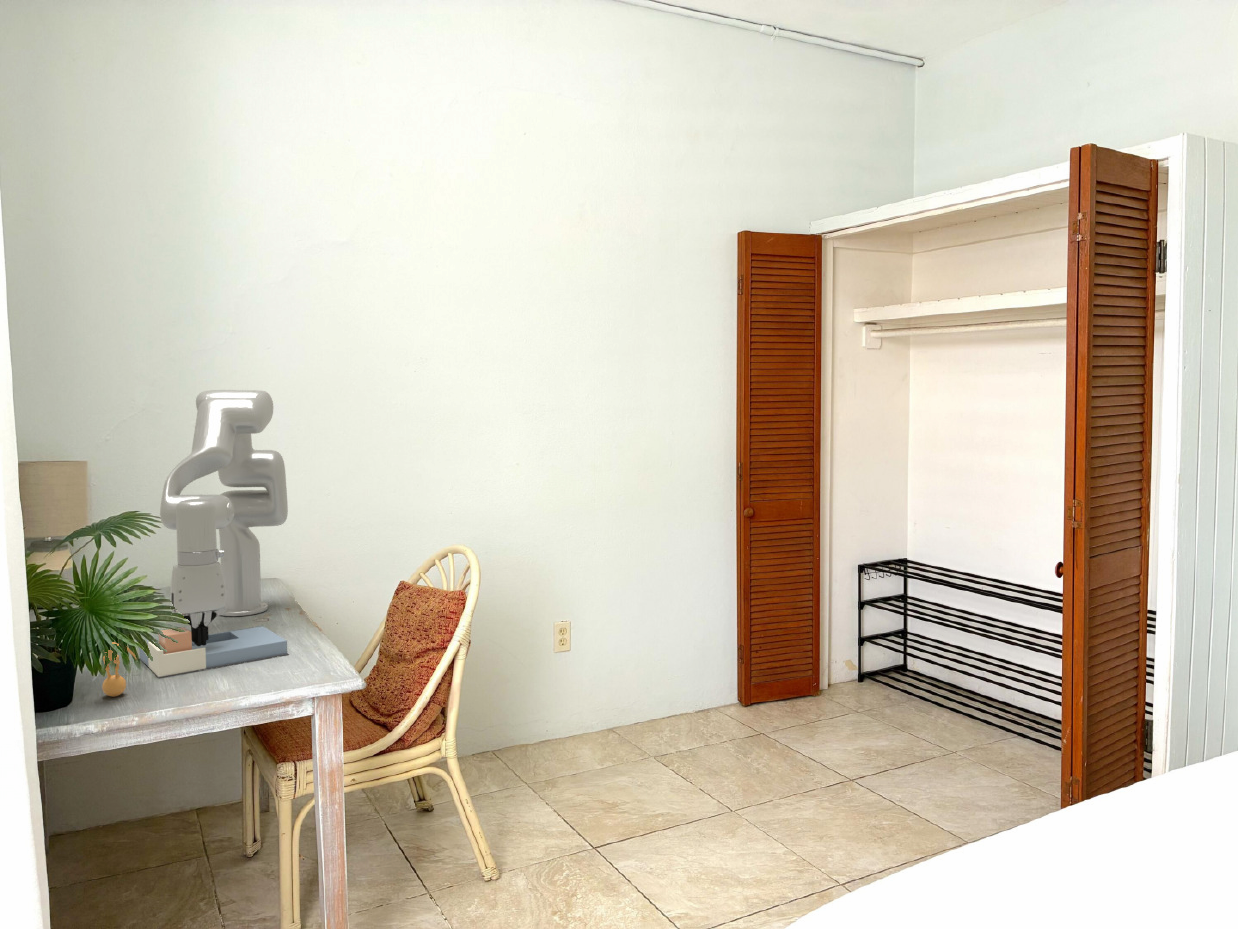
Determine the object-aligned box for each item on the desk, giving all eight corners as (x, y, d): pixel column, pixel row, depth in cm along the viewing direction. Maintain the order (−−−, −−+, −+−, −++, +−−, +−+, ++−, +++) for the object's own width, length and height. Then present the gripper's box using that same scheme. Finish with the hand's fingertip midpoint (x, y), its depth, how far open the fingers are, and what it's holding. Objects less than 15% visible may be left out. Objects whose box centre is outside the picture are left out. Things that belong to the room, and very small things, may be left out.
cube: (159, 654, 190) (158, 631, 190) (185, 650, 194) (184, 627, 193) (165, 660, 187) (165, 636, 186) (192, 655, 190) (191, 632, 189)
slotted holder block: (139, 658, 198) (138, 633, 197) (262, 638, 214) (261, 615, 214) (159, 678, 185) (158, 651, 184) (288, 655, 201) (288, 630, 201)
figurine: (141, 690, 177) (138, 629, 176) (135, 700, 171) (132, 637, 170) (92, 694, 175) (89, 632, 174) (84, 705, 169) (82, 641, 168)
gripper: (228, 552, 200) (231, 635, 201) (153, 559, 190) (156, 647, 192) (240, 557, 194) (242, 642, 195) (163, 565, 185) (166, 654, 186)
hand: (200, 644), depth 194 cm, fingers closed
